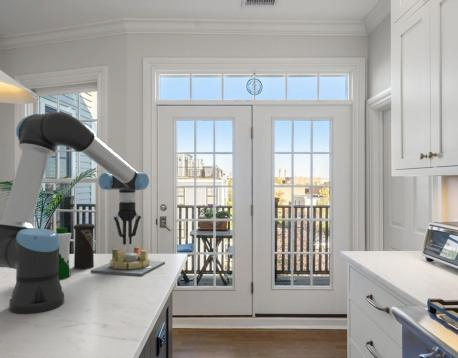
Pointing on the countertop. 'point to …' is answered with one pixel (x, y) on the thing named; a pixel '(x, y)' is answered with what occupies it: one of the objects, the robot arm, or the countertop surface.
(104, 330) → the countertop surface
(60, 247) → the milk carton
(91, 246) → the container
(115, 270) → the slate plate
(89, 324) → the countertop surface
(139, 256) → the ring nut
